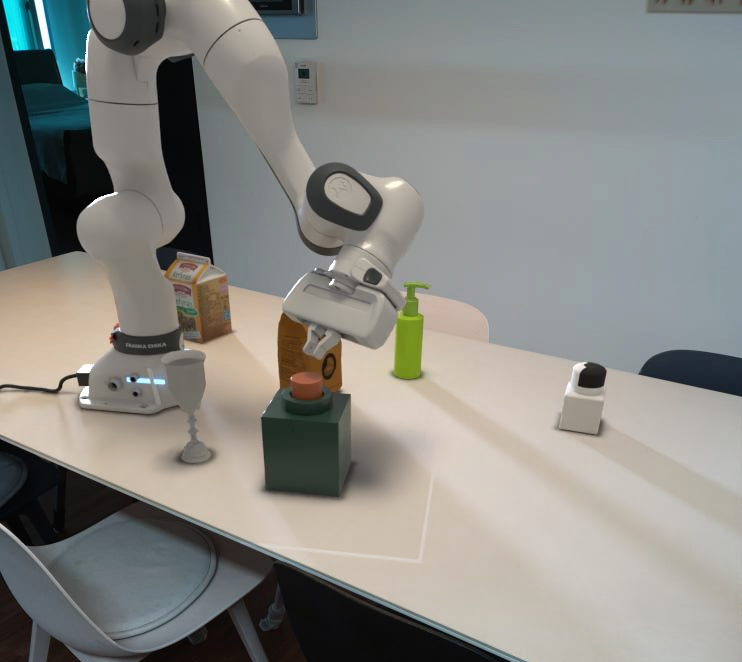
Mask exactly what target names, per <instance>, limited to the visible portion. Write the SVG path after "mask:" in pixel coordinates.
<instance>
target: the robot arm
mask: <svg viewBox="0 0 742 662" xmlns="http://www.w3.org/2000/svg"><path fill="white" fill-rule="evenodd" d="M86 13H87V18H88V21H89V24H90V27H91V29H90V30H89V31H88V34H87V38H86V39H87V40H86V52H85V53H86V54H85V73H86V74H85V77H86V78H85V79H86V81H85V82H86V93H87V101H88V102H87V103H88V109H89V110H88V112H89V122H90V128H91V129H90V130H91V137H92V147H93V149H94V153H95V154H96V155H97V156H98V158H100V159H101V160H102V161H103V162H104V164H105V166H106V168H107V170H108V173H109V175H110V179H111V182H112V185H113V193H110V194H106V195H104V196H100V197H98V198H97V199H95V200H93V202H91V203H90V204H89V205H87V206H86V207H85V208H84V209H83V210H82V211H81V212H80V213H79V215H78V217H77V220H76V235H77V238H78V241H79V243H80V245H81V247H82V248H83V250H84V252H85V253H87V254H88V256H89V257H91V258H92V259H93V260H95V261H96V262H98V264H99V265H100V267H101V269H102V270H103V272H104V274H105V276H106V278H107V280H108V283H109V285H110V287H111V290H112V295H113V299H114V304H115V308H116V315H117V321H118V322H117V323H116V324H115V325H114V326H113V330H112V331H111V332H110V336H109V338H108V340H109V344H110V345H112V347H111V348H110V349H109V350H108V351H106V353H104V354H103V355H102V356H100V358H98V360H97V361H96V362H94V364H91V363H90V364H87V363H85V364H83V365H82V366H81V367H80V368H79V369H78V370H77V371H76V372H75V373H71V374H68V375H66V376H64V377H62V378H61V379H60V380H59V382H58V385H57V388H47V387H40V386H31V385H20V384H13V383H3V384H0V390H2V389H7V388H8V389H14V390H15V389H16V390H23V391H36V392H43V393H49V394H56V393H59V392H60V391H62V389H63V386H64V383H65V382H66V381H67V380H71V379H75V378H76V379H77V383H78V387H84V388H83V389H82V390H81V392H80V394H79V398H78V402H79V403H78V404H79V406H80V408H82V409H87V410H99V411H109V412H119V413H120V412H121V413H130V414H140V415H141V414H142V415H154V414H156V413H159V412H161V411H162V410H164V409H169V408H173V407H176V406H179V405H178V403H177V402H176V401H175V399H174V398H173V396H172V394H171V392H170V390H169V388H168V381H167V374H166V367H165V365H164V364H163V362H162V361H161V359H162V357H163V356H164V355H166V354H168V353H171V352H174V351H180V350H191V349H190V348H185V339H184V338H183V333H182V329H181V325H180V324H179V323H178V314H177V306H176V298H175V290H174V287H173V285H172V283H171V282H170V281H169V280H168V279H167V278H165V277H164V275H165V274H163V271H162V269H161V265H160V264H159V261H158V258H157V249H160V248H161V247H164V246H166V245H168V244H169V243H172V241H173V240H174V239H175V238H176V237H177V236H178V234H179V233H180V232H181V230H182V229H183V227H184V225H185V220H186V212H185V207H184V205H183V202H182V200H181V199H180V197H179V196H178V195H177V194H176V192H175V191H174V190H173V188H172V185H171V181H170V179H169V175H168V172H167V168H166V163H165V160H164V155H163V149H162V140H161V139H162V138H161V128H160V111H159V100H158V89H157V88H158V87H157V72H158V69H159V66H160V65H161V63H163V62H164V61H165V60H166V59H167V60H168V61H169V62H171V63H177V62H180V61H183V60H185V59H189V58H191V57H195V58H196V59H197V61H198V63H199V64H200V65H201V67H202V69H203V70H204V72H205V74H206V75H207V76H208V78H209V79H210V82H211V83H212V84H213V85H214V87H215V88H216V90H217V91H218V93H219V94H220V95H221V97H222V98H223V99H224V101H225V103H226V104H227V105H228V106H229V107H230V109H231V111H232V112H233V113H234V114H235V116H236V118H237V119H238V120H239V122H240V124H241V125H242V126H243V128H244V129H245V131H246V132H247V133H248V135H249V136H250V137H251V139H252V141H254V143H255V145H256V147H257V148H258V150H259V151H260V154H261V155H262V157H263V159H264V160H265V162H266V164H267V165H268V167H269V169H270V171H271V172H272V174H273V175H274V177H275V179H276V181H277V182H278V184H279V186H280V187H281V190H283V193H284V194H285V195H286V197H287V199H288V200H289V203H290V205H291V207H292V210H293V213H294V219H295V224H296V229H297V233H298V235H299V239H300V240H301V241H302V243H303V244H304V246H306V248H307V249H309V250H310V251H311V252H312V253H315V254H317V255H320V256H325V257H334V256H335V259H334V260H333V262H332V263H331V264H330V266H329V268H328V270H324V269H323V268H319V267H317V268H315V269H313V270H311V271H308V272H306V273H305V274H304V275H303V276H302V277H301V278H300V279H299V280H297V282H296V283H295V285H294V286H293V287H292V289H291V290H290V291H289V292H288V294H287V296H286V297H285V298H284V300H283V301H282V304H281V311H282V313H283V312H284V313H285V314H286V315H287V316H288V317H289V318H290V319H291V320H293V321H295V322H298V323H301V324H303V325H306V326H309V328H308V335H307V340H308V341H307V342H306V344H305V346H304V347H303V352H304V353H305V354H307V355H309V356H311V357H314V358H316V359H319V360H321V359H322V358H323V356H324V354H325V353H326V351H328V350H330V349H331V348H332V347H334V346H335V345H337V344H338V343H339V341H340V339H341V340H345V341H348V342H351V343H354V344H357V345H359V346H362V347H365V348H367V349H370V350H373V351H375V350H376V351H377V350H378V349H380V348H381V347H383V346H384V345H385V343H386V342H387V340H388V339H389V337H390V336H391V333H392V332H393V329H395V327H396V322H397V319H398V313H399V312H402V309H403V308H404V306H405V305H406V300H405V296H404V294H403V293H402V292H401V291H400V289H399V288H398V287H397V286H396V284H395V283H394V282H393V281H392V278H393V276H394V273H395V269H396V267H397V265H398V263H399V262H400V261H401V260H402V259H403V258H405V256H406V255H407V253H408V252H409V250H410V249H411V246H412V244H413V243H414V241H415V239H416V237H417V235H418V232H419V231H420V229H421V226H422V223H423V221H424V217H425V205H424V200H423V199H422V197H421V195H420V193H419V192H418V190H417V189H416V188H415V187H414V186H413V185H412V184H411V183H410V182H409V181H407V180H405V179H403V178H402V177H399V176H387V177H385V176H384V177H383V176H382V177H381V176H375V175H370V174H368V173H364V172H362V171H359V170H356V169H355V168H354V167H353V166H351V165H348V164H347V163H343V162H337V161H333V162H327V163H323V164H321V165H320V166H318V167H317V168H316V167H315V165H314V163H313V161H312V159H311V157H310V156H309V154H308V153H307V150H306V149H305V147H304V146H303V144H302V142H301V140H300V138H299V136H298V133H297V131H296V128H295V124H294V121H293V115H292V109H291V98H290V83H289V71H288V68H287V64H286V62H285V60H284V57H283V55H282V52H281V50H280V47H279V46H278V44H277V42H276V39H275V38H274V36H273V34H272V33H271V31H270V30H269V28H268V27H267V25H266V24H265V22H264V21H263V19H262V17H261V16H260V15H259V13H258V11H257V10H256V9H255V7H254V6H253V4H252V3H251V2H250V1H249V0H86ZM324 333H325V335H326V337H325V338H324V339H322V340H321V341H320V342H319V343H318V338H319V337H322V336H323V334H324ZM317 343H318V344H317Z"/></svg>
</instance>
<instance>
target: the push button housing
mask: <svg viewBox="0 0 742 662" xmlns="http://www.w3.org/2000/svg"><path fill="white" fill-rule="evenodd" d="M322 393H323V395H322V397H321V398H318V399H315V400H298V399H295V398H293V397H292V391H291V386H290V387H288V388H285V389H280V388H278V390H277V391H276V392H275V394H274V396H273V397H272V399H271V400H270V402H269V403H268V405H267V407H266V408H265V410H264V411H263V413H262V414H261V416H260V425H261V438H262V439H261V440H262V454H263V455H262V456H263V469H264V485H265V490H266V491H274V492H285V493H296V494H307V495H318V496H329V497H340V496H341V493H342V489H343V486H344V485H345V481H346V478H347V475H348V472H349V470H350V466H351V464H352V394H351V393H345V392H344V393H343V392H335V393H333V392H332V391H331V390H330V389H329V388H328V387H325V386H322Z"/></svg>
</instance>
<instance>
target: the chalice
mask: <svg viewBox="0 0 742 662" xmlns="http://www.w3.org/2000/svg"><path fill="white" fill-rule="evenodd" d="M206 358H207V354H206V353H205V352H204V351H202V350H196V349H190V350H180V351H174V352H171V353H168V354H166V355H164V356H163V357H162V359H161V361H162V362H163V364H164V365H165V367H166V374H167V381H168V388H169V390H170V392H171V394H172V396H173V398H174V399H175V401H176V402H177V403H178V405H177V406H178V407H179V408H180V409H181V410H182V411H183V412H187V420H186V423H188V425H189V429H188V430H187V433H188V434H189V435H190V441H188V442H187V443H186V444H185V446H183V450H182V455H181V457H180V458H181V460H182V461H183V462H185V463H188V464H199V463H202V462H205V461H207V460H208V459H210V458H211V456H212V453H211V452H210V451H209V447H207V445H206V443H204V442H203V441H201V440H199V439H198V437H197V435H198V433H199V429H198V428H197V427H196V423H197V421H198V420H197V419H196V418H195V411H197V410H199V408H200V406H201V402H202V400H203V398H204V395H205V390H206V386H207V380H206V371H205V360H206Z"/></svg>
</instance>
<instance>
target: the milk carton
mask: <svg viewBox="0 0 742 662" xmlns="http://www.w3.org/2000/svg"><path fill="white" fill-rule="evenodd" d="M167 268H168V269H166V271H165V273H164V274H163V275H164V277H165V278H167V279H168V280H169V281H170V282H171V283H172V285H173V287H174V290H175V298H176V306H177V314H178V323H179V324H180V325H181V329H182V333H183V338H184V340H188V341H191V342H196V343H199V344H204V343H207V342H209V341H212V340H214V339H217V338H220V337H223V336H225V335H228V334H230V333H232V332H233V328H232V327H233V325H232V316H231V315H232V314H231V304H230V294H229V293H230V292H229V282H228V274H227V273H226V272H225V271H224V270H222V269H221V268H219V267H217V266H215V265H213V264H212V261H211V258H210V257H206V256H202V255H196V254H191V253H185V252H181V251H177V252H176V259H175V260H174V261H173V262H172V263H171V264H170V265H169V267H167Z"/></svg>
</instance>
